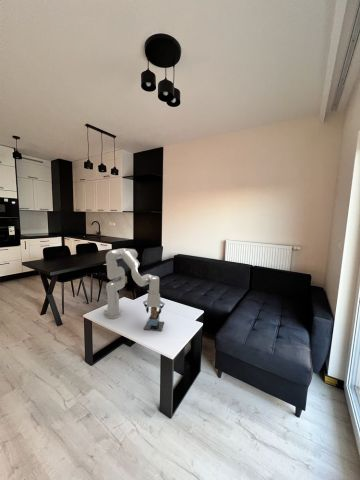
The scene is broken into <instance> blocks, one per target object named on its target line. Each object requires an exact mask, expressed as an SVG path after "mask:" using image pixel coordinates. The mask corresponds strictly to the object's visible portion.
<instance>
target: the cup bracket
mask: <svg viewBox="0 0 360 480" xmlns="http://www.w3.org/2000/svg"><path fill="white" fill-rule="evenodd" d="M147 319H148V320H147V321H146V323H145V326H144V327H143V330H144V331H153V332H155V331H156V332H162V330H163V328H164V325H165V321H160V314H159V310H157V319H151V314H150V315H149V317H148V318H147Z"/></svg>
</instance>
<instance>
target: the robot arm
mask: <svg viewBox="0 0 360 480" xmlns="http://www.w3.org/2000/svg"><path fill="white" fill-rule="evenodd" d="M138 255H139V253H138V252H137V250H136V249H134V248H126V247H125V248H124V247H123V248H117V249H112V250H110V251H108V252H107V253H106V254H105V263H106V273H107V279H109V280H110V281H109V282H107V283H106V287H105V288H106V293H107V309H103V314H105V318H107V319H109V320H111V319H113V320H114V319H117V318H120V316H121V314H122V312H121V311H120V295H119V293H118V291H119V290H121V289H123V288H124V287H125V285H126V272H125V269H124V268H123V266H118V262H117V260H120V259H122V260H123V261H124V263H125V264H126V265H127V266H128V267H129V269H130V271H131V272H130V274H131V277H132V279H133V281H134V282H135V284H137V286H139V287H142V288H143V287H145V286H148V285H149V286H148V287H149V288H148V289H147V293H148V294H147V298H146V300H144V301H142V303H143V305H144V307H145V312H146V313H147V314H148V313H149V311H150V310H149V309H150V308H151V307H157V309H158V311H159V315H160V314H161V313H162V309H163V308H164V306H165V305H166V304H165V303H164V302H163V301H161V294H160V277H159V276H157V275H152V274H150V273H146V274H144V275H141V274H140V273H139V271H138V268H139V267H140V264H141V263H140V262H139V260H138V259H137V258H138Z"/></svg>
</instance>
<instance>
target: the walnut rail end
mask: <svg viewBox="0 0 360 480" xmlns="http://www.w3.org/2000/svg"><path fill="white" fill-rule="evenodd" d="M157 311H158V307H150V315H151V319H157Z"/></svg>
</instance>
